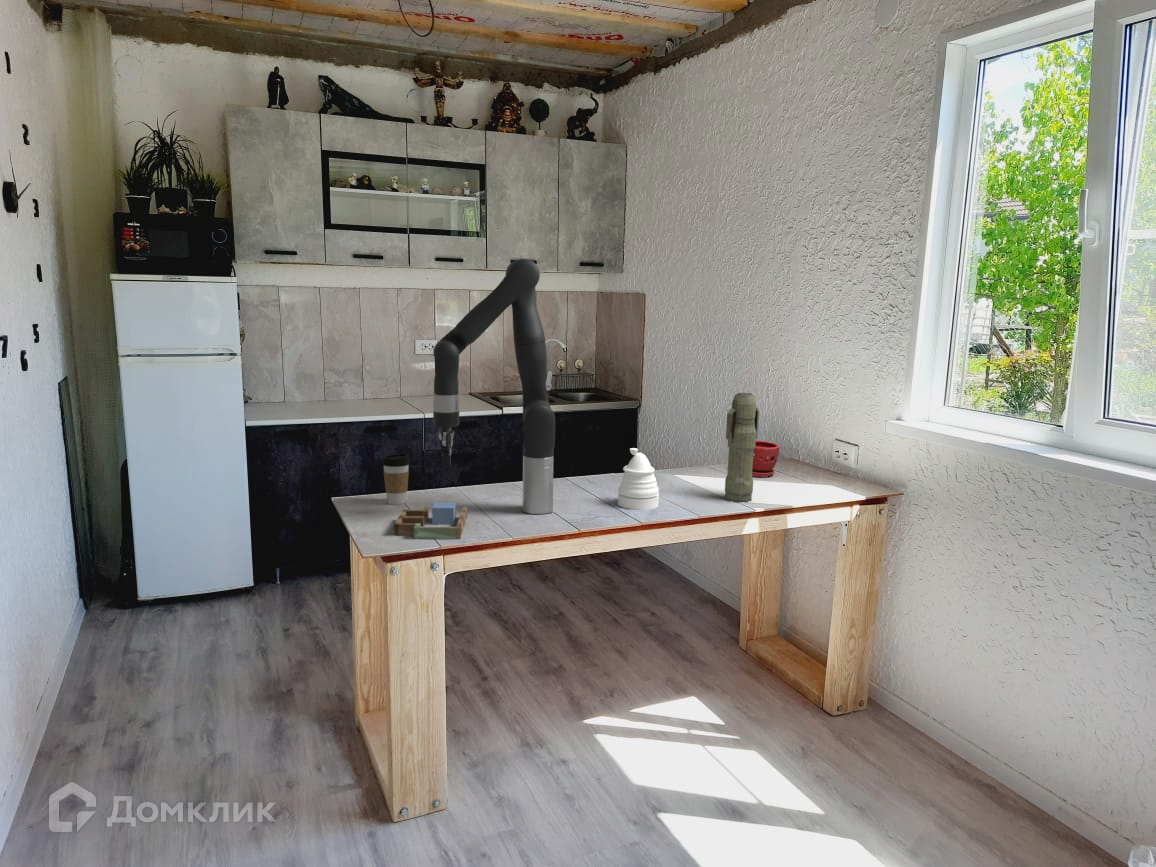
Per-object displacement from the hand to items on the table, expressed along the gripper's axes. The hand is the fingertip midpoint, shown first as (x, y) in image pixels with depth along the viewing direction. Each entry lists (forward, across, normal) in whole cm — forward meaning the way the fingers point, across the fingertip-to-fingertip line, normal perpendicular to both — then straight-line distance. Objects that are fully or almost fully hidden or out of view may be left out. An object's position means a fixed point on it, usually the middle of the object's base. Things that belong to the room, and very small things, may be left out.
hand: (446, 467), depth 231 cm
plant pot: (+14, +54, -110) cm, 124 cm away
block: (+14, -8, 0) cm, 16 cm away
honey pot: (+14, +12, -59) cm, 62 cm away
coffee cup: (+14, +12, +17) cm, 26 cm away
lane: (+14, -14, +3) cm, 20 cm away
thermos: (+14, +20, -93) cm, 96 cm away
